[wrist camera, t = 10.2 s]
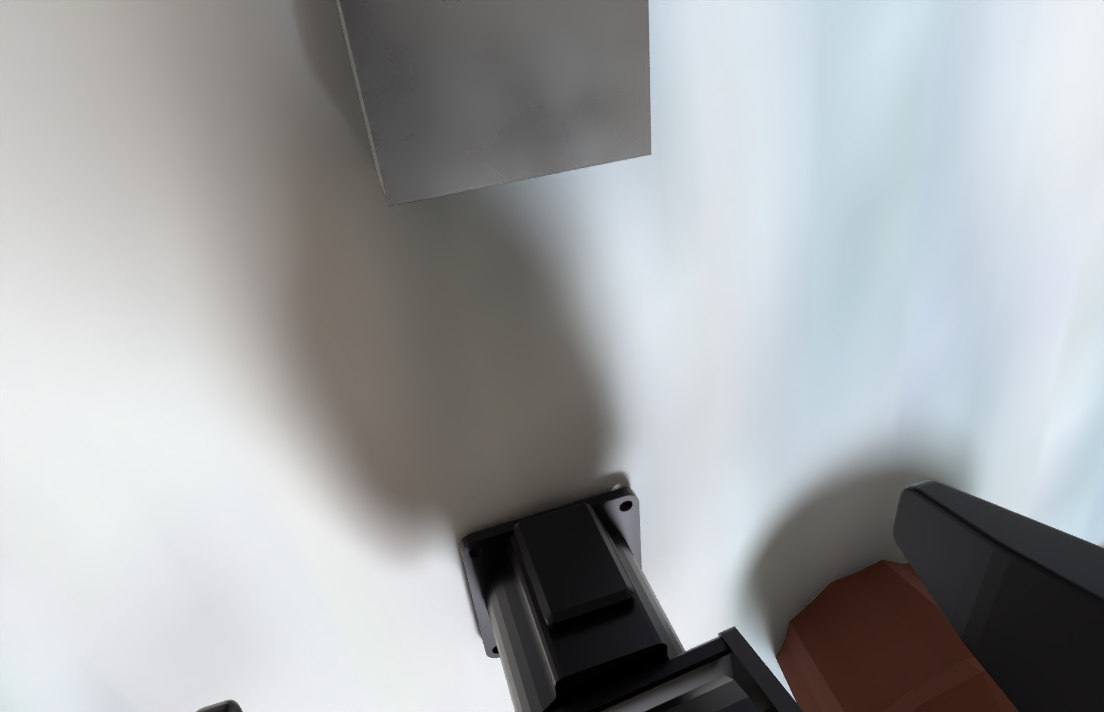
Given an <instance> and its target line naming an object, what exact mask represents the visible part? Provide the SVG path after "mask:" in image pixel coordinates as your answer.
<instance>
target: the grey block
mask: <svg viewBox="0 0 1104 712" xmlns="http://www.w3.org/2000/svg"><path fill="white" fill-rule="evenodd" d="M336 5H337V9H338V13H339V17H340V21H341V25H342V30H343V34H344V38H345V42H346V46H347V50H348V55H349V59H350V63H351V67H352V71H353V75H354V80H355V84H356V88H357V92H358V96H359V100H360V105H361V109H362V113H363V117H364V121H365V125H366V130H367V134H368V138H369V142H370V146H371V150H372V155H373V159H374V163H375V167H376V171H377V174H378V177H379V180H380V183H381V186H382V189H383V192H384V195H385V198H386V201H387V204H388V206H394V205H399V204H404V203H409V202H414V201H419V200H424V199H429V198H434V197H439V196H444V195H449V194H454V193H459V192H464V191H469V190H474V189H479V188H484V187H489V186H494V185H499V184H504V183H509V182H515V181H520V180H525V179H530V178H535V177H540V176H545V175H550V174H555V173H560V172H565V171H570V170H575V169H580V168H585V167H590V166H595V165H600V164H605V163H610V162H615V161H620V160H625V159H630V158H636V157H641V156H646V155H651V116H650V62H649V8H648V0H336Z"/></svg>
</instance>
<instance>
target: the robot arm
mask: <svg viewBox="0 0 1104 712" xmlns="http://www.w3.org/2000/svg"><path fill="white" fill-rule="evenodd" d="M625 501H626V502H625ZM623 502H625V503H623ZM622 503H623V504H622ZM892 529H893V535H894V539H895V541H896V543H897V545H898V547H899V548H900V550H901V551H902V553H903V554H904V556H905V557H906V559H907V560H908V562H909V563H910V565H911V566H912V568H913V569H914V571H915V572H916V574H917V575H918V577H919V578H920V580H921V581H922V583H923V584H924V586H925V587H926V589H927V590H928V592H929V593H930V595H931V596H932V598H933V599H934V601H935V602H936V604H937V605H938V607H939V608H940V610H941V611H942V613H943V614H944V616H945V617H946V619H947V620H948V622H949V623H950V625H951V626H952V628H953V629H954V630H955V632H956V633H957V635H958V636H959V637H960V639H961V640H962V641H963V643H964V644H965V645H966V647H967V648H968V649H969V651H970V652H971V653H972V654H973V656H974V657H975V658H976V659H977V661H978V662H979V663H980V664H981V666H982V667H983V668H984V669H985V671H986V672H987V673H988V674H989V676H990V677H991V678H992V679H993V680H994V682H995V683H996V684H997V685H998V687H999V688H1000V689H1001V690H1002V692H1003V693H1004V694H1005V695H1006V697H1007V698H1008V699H1009V700H1010V702H1011V703H1012V704H1013V705H1014V707H1015V708H1016V709H1017V710H1018V711H1019V712H1104V548H1103V547H1100V546H1098V545H1095V544H1093V543H1090V542H1088V541H1085V540H1083V539H1080V538H1078V537H1075V536H1073V535H1070V534H1068V533H1065V532H1063V531H1060V530H1058V529H1055V528H1053V527H1050V526H1048V525H1045V524H1043V523H1040V522H1038V521H1035V520H1033V519H1030V518H1028V517H1025V516H1023V515H1020V514H1018V513H1015V512H1013V511H1010V510H1008V509H1005V508H1003V507H1000V506H998V505H995V504H993V503H990V502H988V501H985V500H983V499H980V498H978V497H975V496H973V495H970V494H968V493H965V492H963V491H960V490H958V489H955V488H953V487H950V486H948V485H945V484H943V483H940V482H938V481H934V480H925V481H921V482H918V483H915V484H912V485H909V486H906V487H905V488H904V489H903V490H902V491H901V494H900V497H899V501H898V505H897V509H896V514H895V518H894V522H893V527H892ZM478 546H479V547H478ZM474 547H477V548H475V549H472V548H474ZM460 551H461V555H462V559H463V563H464V567H465V571H466V575H467V579H468V583H469V587H470V591H471V595H472V599H473V603H474V607H475V611H476V615H477V619H478V623H479V628H480V632H481V636H482V640H483V644H484V648H485V651H486V654H487V656H488V657H490V658H498V657H500V659H501V662H502V666H503V669H504V673H505V677H506V680H507V684H508V687H509V691H510V695H511V698H512V702H513V705H514V709H515V712H803V710H802V709H801V708H800V707H799V705H798V704H797V703H796V702H795V700H794V699H793V698H792V697H791V695H790V694H789V693H788V692H787V691H786V689H785V688H784V687H783V686H782V684H781V683H780V682H779V681H778V679H777V678H776V677H775V676H774V674H773V673H772V672H771V671H770V669H769V668H768V667H767V666H766V665H765V663H764V662H763V661H762V660H761V658H760V657H759V656H758V655H757V653H756V652H755V651H754V650H753V648H752V647H751V646H750V645H749V643H748V642H747V641H746V640H745V639H744V637H743V636H742V635H741V634H740V632H739V631H738V630H737V629H736V627H732V628H729V629H727V630H725V631H723V632H720V633H718V636H719V637H717V638H715V639H712V640H710V641H708V642H706V643H703V644H701V645H699V646H697V647H694V648H692V649H690V650H688V651H685V650H684V648H683V646H682V644H681V642H680V640H679V638H678V637H677V635H676V633H675V631H674V629H673V627H672V625H671V624H670V622H669V620H668V618H667V616H666V614H665V612H664V611H663V609H662V607H661V605H660V603H659V601H658V599H657V598H656V596H655V594H654V592H653V590H652V588H651V586H650V585H649V583H648V581H647V579H646V577H645V575H644V573H643V572H642V566H641V541H640V515H639V501H638V498H637V496H636V495H635V493H634V491H632V490H631V489H629V488H622V489H618V490H615V491H612V492H608V493H605V494H602V495H598V496H595V497H592V498H588V499H585V500H582V501H578V502H575V503H572V504H568V505H565V506H562V507H558V508H555V509H552V510H548V511H545V512H542V513H538V514H535V515H532V516H528V517H525V518H522V519H518V520H515V521H512V522H508V523H505V524H502V525H498V526H495V527H492V528H488V529H485V530H482V531H478V532H475V533H472V534H469V535H467V536H466V537H465V538H463V539H462V541H461V543H460ZM197 712H243V711H242V709H241V708H240V706H239V705H238V703H237V702H236V701H234V700H226V701H223V702H220V703H217V704H213V705H210V706H207V707H204V708H201V709H200V710H198V711H197Z"/></svg>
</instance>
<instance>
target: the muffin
mask: <svg viewBox="0 0 1104 712" xmlns="http://www.w3.org/2000/svg"><path fill="white" fill-rule="evenodd" d="M776 659H777V661H778V664H779V666H780V668H781V670H782V672H783V674H784V677H785V679H786V681H787V683H788V685H789V687H790V690H791V692H792V694H793V696H794V698H795V700H796V702H797V704H798V705H799V707H800V708H801V709H802V710H803V712H1019V711H1018V710H1017V709H1016V708H1015V707H1014V705H1013V704H1012V703H1011V702H1010V700H1009V699H1008V698H1007V697H1006V695H1005V694H1004V693H1003V692H1002V690H1001V689H1000V688H999V687H998V685H997V684H996V683H995V682H994V680H993V679H992V678H991V677H990V676H989V674H988V673H987V672H986V671H985V669H984V668H983V667H982V666H981V664H980V663H979V662H978V661H977V659H976V658H975V657H974V656H973V654H972V653H971V652H970V651H969V649H968V648H967V647H966V645H965V644H964V643H963V641H962V640H961V639H960V637H959V636H958V635H957V633H956V632H955V630H954V629H953V628H952V626H951V625H950V623H949V622H948V620H947V619H946V617H945V616H944V614H943V613H942V611H941V610H940V608H939V607H938V605H937V604H936V602H935V601H934V599H933V598H932V596H931V595H930V593H929V592H928V590H927V589H926V587H925V586H924V584H923V583H922V581H921V580H920V578H919V577H918V575H917V574H916V572H915V571H914V569H913V568H912V566H911V565H910V564H898V563H893V562H889V561H884V560H881V561H879V562H877V563H875V564H873V565H871V566H869V567H867V568H866V569H864V570H862V571H860V572H858V573H855V574H853V575H850V576H847V577H845V578H842V579H839V580H837V581H834V582H831V583H830V584H829V585H828V586H827V587H826V588H825V590H824V591H823V592H822V593H821V594H820V595H819V596H818V597H817V598H816V599H815V600H814V601H813V602H812V603H811V604H810V605H809V606H807V607H806V608H805V609H804V610H803V611H802V612H800V613H799V614H798V615H797V616H796V617H794V618H793V619H792V620H791V621H790V623H789V627H788V631H787V635H786V638H785V641H784V643H783V645H782V647H781V649H780V651H779V654H778V656H777V658H776Z"/></svg>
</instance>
